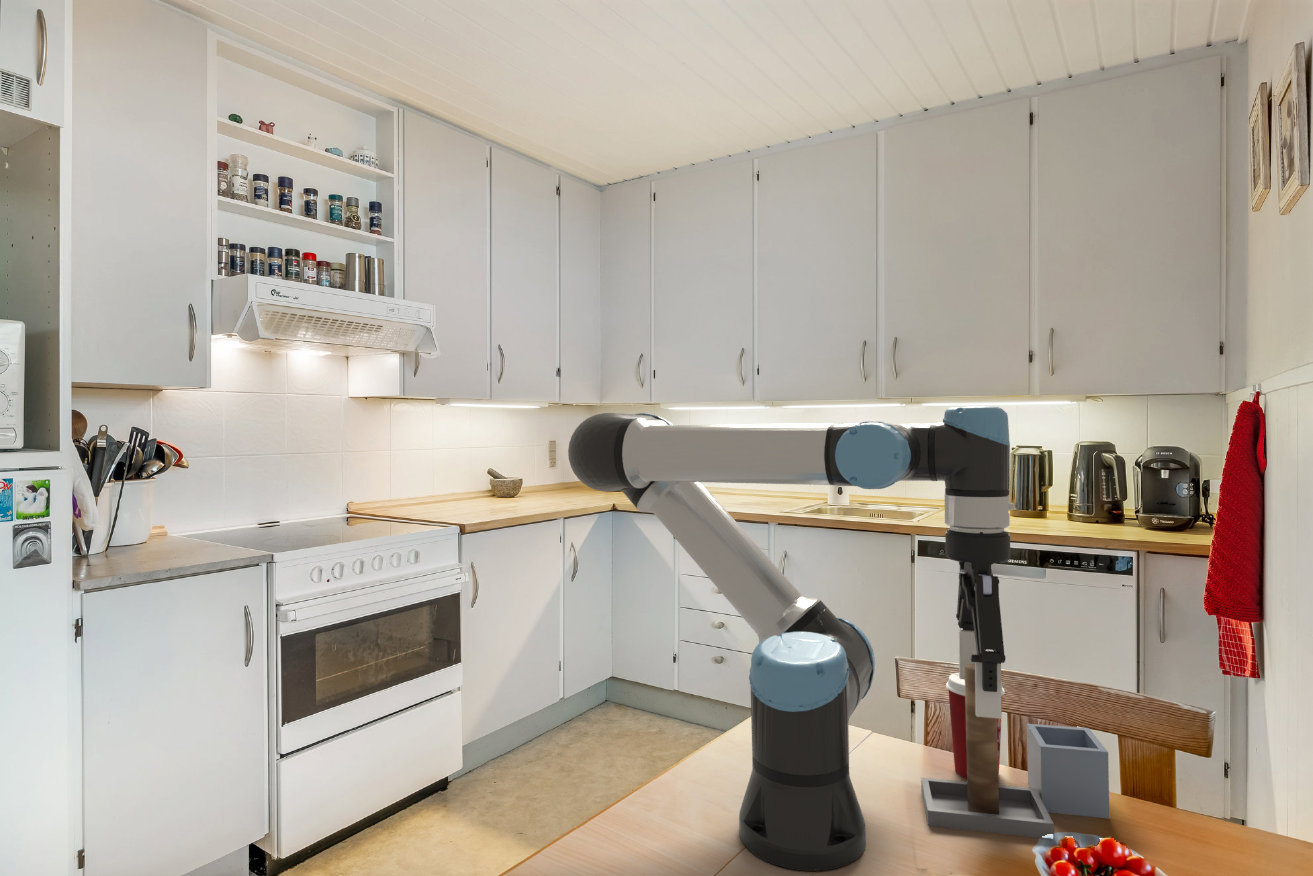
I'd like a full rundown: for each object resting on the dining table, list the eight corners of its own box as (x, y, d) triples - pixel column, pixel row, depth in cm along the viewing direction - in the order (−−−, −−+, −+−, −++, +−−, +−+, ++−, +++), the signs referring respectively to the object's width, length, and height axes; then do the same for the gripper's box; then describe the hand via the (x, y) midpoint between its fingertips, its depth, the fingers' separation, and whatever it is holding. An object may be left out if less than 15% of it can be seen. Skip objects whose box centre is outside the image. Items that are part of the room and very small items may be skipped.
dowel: (970, 816, 91) (966, 671, 91) (966, 803, 94) (962, 663, 95) (1001, 819, 90) (997, 672, 90) (996, 806, 93) (992, 664, 94)
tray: (928, 831, 90) (927, 810, 90) (921, 796, 98) (921, 777, 98) (1054, 846, 86) (1053, 824, 86) (1035, 808, 95) (1035, 788, 95)
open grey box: (1042, 817, 92) (1040, 746, 92) (1028, 789, 100) (1026, 723, 100) (1109, 824, 90) (1108, 752, 90) (1090, 795, 98) (1089, 728, 98)
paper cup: (1013, 793, 99) (1011, 689, 99) (953, 788, 100) (951, 686, 100) (998, 767, 107) (996, 671, 107) (942, 763, 108) (940, 669, 108)
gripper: (1033, 543, 79) (1035, 739, 79) (991, 518, 103) (992, 668, 103) (959, 542, 81) (960, 732, 81) (934, 517, 105) (936, 664, 105)
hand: (978, 696), depth 92 cm, fingers open, 13 cm apart
